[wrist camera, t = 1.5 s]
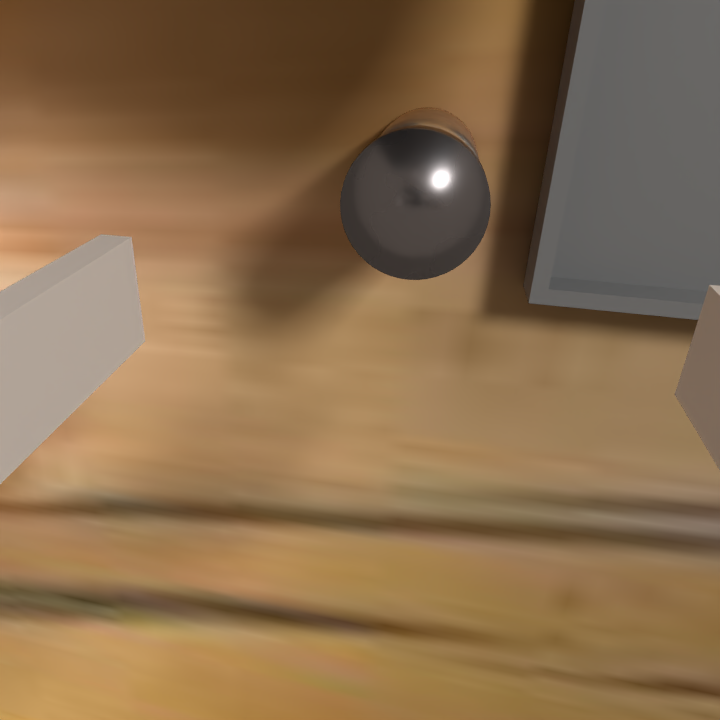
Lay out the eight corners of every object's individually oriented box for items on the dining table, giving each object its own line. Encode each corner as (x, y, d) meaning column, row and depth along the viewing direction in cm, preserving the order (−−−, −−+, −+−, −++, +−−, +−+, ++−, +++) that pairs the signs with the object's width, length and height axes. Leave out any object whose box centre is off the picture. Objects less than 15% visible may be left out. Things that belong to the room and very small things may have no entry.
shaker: (376, 101, 30) (343, 123, 21) (486, 109, 30) (501, 135, 21) (369, 210, 32) (337, 272, 23) (472, 219, 32) (479, 286, 23)
